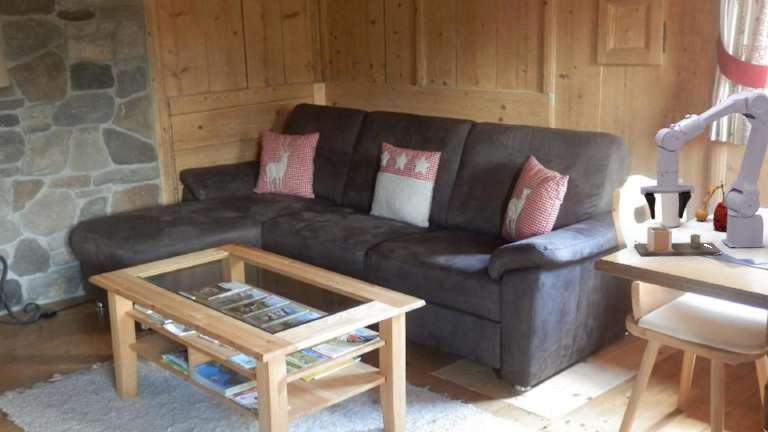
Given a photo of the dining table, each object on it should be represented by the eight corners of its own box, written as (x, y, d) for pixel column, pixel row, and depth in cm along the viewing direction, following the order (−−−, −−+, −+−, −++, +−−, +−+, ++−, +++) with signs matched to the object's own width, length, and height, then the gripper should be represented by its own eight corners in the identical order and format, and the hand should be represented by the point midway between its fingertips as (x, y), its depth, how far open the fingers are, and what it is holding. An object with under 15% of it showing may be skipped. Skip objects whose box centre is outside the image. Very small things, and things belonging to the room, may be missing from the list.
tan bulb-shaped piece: (695, 217, 281) (697, 181, 279) (715, 218, 279) (716, 182, 276) (694, 223, 274) (695, 186, 271) (714, 224, 272) (715, 187, 269)
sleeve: (671, 250, 241) (671, 231, 239) (651, 250, 241) (651, 231, 240) (666, 245, 246) (667, 226, 245) (647, 245, 247) (647, 227, 245)
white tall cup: (683, 228, 268) (685, 181, 265) (660, 228, 269) (662, 181, 266) (680, 223, 274) (682, 177, 271) (658, 223, 276) (659, 177, 272)
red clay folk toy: (720, 233, 260) (723, 185, 257) (707, 228, 267) (709, 181, 264) (742, 231, 262) (745, 183, 259) (728, 226, 269) (731, 179, 265)
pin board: (711, 245, 247) (712, 230, 246) (721, 255, 237) (722, 239, 236) (634, 247, 249) (634, 232, 248) (640, 256, 240) (641, 240, 239)
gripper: (690, 168, 244) (689, 214, 247) (638, 169, 245) (637, 215, 248) (697, 172, 237) (695, 219, 240) (643, 174, 238) (642, 221, 241)
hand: (666, 218), depth 243 cm, fingers open, 7 cm apart
